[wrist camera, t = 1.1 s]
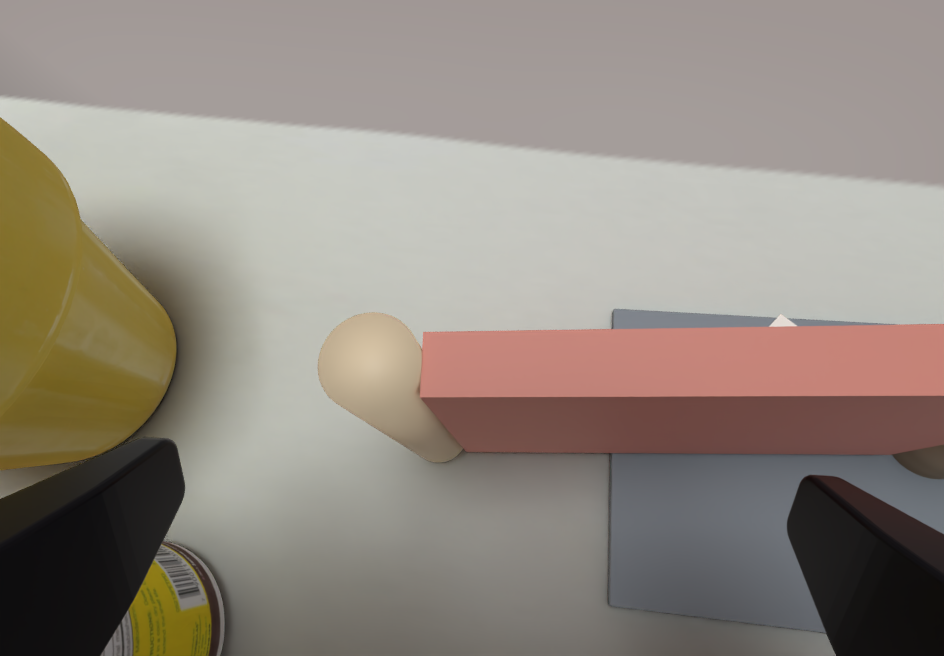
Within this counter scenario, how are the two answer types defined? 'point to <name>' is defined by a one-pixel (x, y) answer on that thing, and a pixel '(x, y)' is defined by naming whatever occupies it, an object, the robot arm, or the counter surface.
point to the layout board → (731, 514)
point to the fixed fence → (924, 461)
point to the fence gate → (642, 388)
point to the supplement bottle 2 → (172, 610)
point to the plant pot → (68, 324)
